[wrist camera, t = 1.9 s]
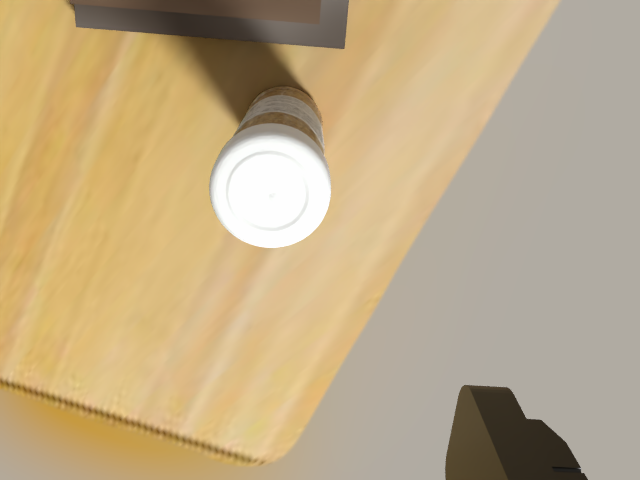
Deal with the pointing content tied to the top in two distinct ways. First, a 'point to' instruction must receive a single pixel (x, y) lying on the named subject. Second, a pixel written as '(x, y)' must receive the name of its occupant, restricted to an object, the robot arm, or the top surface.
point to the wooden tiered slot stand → (223, 19)
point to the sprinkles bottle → (273, 171)
